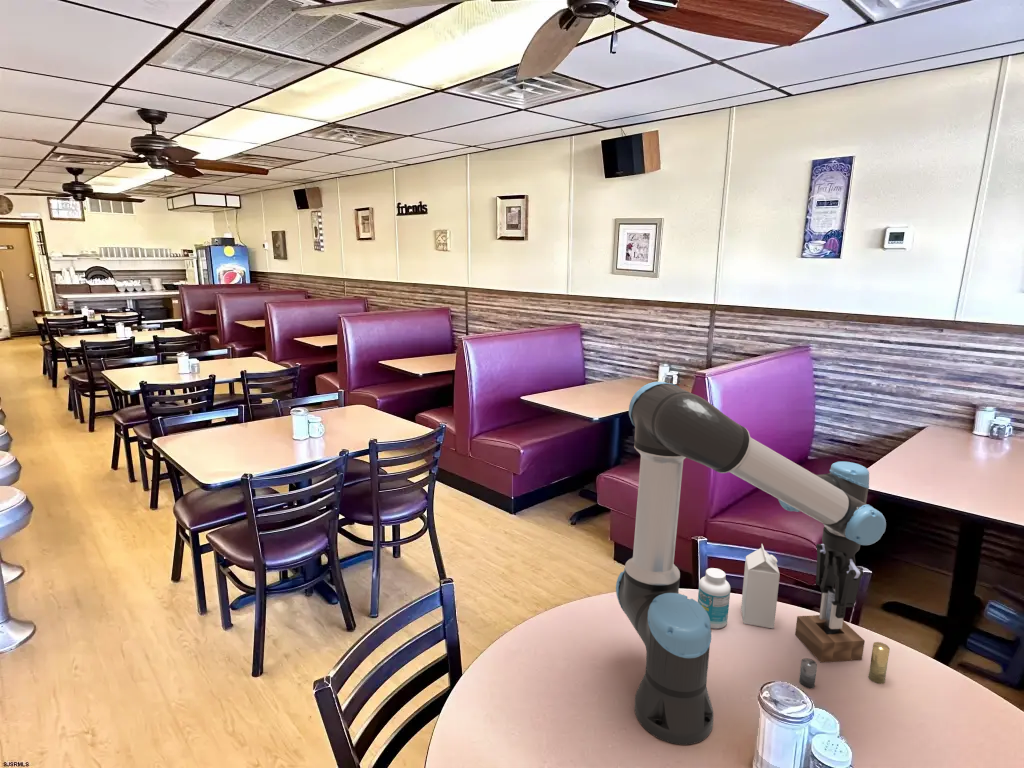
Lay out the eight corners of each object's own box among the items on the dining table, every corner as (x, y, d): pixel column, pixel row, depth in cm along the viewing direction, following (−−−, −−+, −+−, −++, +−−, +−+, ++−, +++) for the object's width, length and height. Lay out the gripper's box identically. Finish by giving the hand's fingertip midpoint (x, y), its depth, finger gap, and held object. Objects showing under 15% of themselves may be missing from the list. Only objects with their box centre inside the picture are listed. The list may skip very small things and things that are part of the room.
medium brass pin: (874, 684, 122) (879, 651, 120) (865, 674, 125) (869, 642, 123) (888, 683, 122) (893, 650, 120) (878, 673, 125) (882, 641, 123)
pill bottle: (691, 612, 147) (695, 565, 144) (719, 611, 147) (723, 564, 145) (703, 630, 140) (707, 581, 137) (732, 629, 140) (736, 580, 137)
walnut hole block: (820, 662, 128) (822, 642, 127) (795, 634, 138) (797, 616, 137) (861, 660, 129) (864, 640, 128) (833, 632, 139) (836, 614, 138)
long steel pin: (827, 646, 132) (833, 596, 129) (819, 638, 135) (825, 589, 132) (839, 645, 132) (846, 595, 129) (831, 637, 135) (837, 588, 132)
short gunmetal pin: (804, 688, 120) (806, 668, 119) (796, 678, 123) (798, 658, 122) (817, 688, 121) (820, 667, 120) (809, 678, 124) (811, 657, 123)
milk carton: (743, 624, 142) (749, 554, 138) (740, 608, 149) (747, 541, 145) (774, 629, 140) (781, 559, 136) (770, 613, 147) (777, 545, 143)
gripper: (883, 546, 120) (869, 644, 125) (835, 514, 136) (824, 602, 141) (850, 547, 120) (837, 646, 124) (805, 515, 135) (795, 604, 140)
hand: (830, 622), depth 132 cm, fingers closed on long steel pin, 3 cm apart
